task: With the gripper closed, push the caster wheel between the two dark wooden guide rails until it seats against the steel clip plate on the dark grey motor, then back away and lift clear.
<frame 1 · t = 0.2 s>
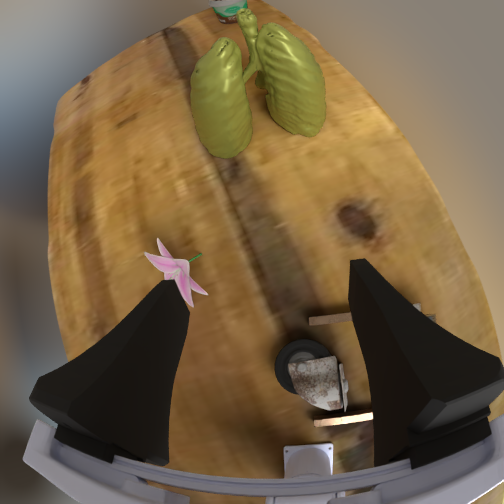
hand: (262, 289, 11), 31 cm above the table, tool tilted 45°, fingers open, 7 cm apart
motor mount: (351, 367, 37), on the table
lily: (189, 275, 45), on the table
food container: (238, 20, 60), on the table
caster wheel: (311, 372, 38), on the table
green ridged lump: (262, 119, 49), on the table
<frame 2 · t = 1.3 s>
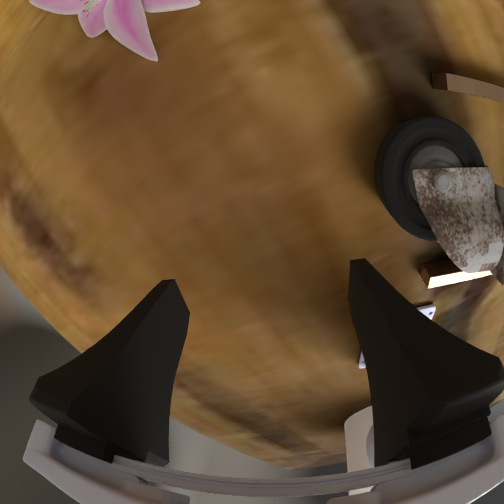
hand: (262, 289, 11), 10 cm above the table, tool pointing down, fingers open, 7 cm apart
motor mount: (484, 183, 16), on the table
lily: (137, 4, 11), on the table
caster wheel: (425, 185, 17), on the table
cylinder: (386, 414, 41), on the table
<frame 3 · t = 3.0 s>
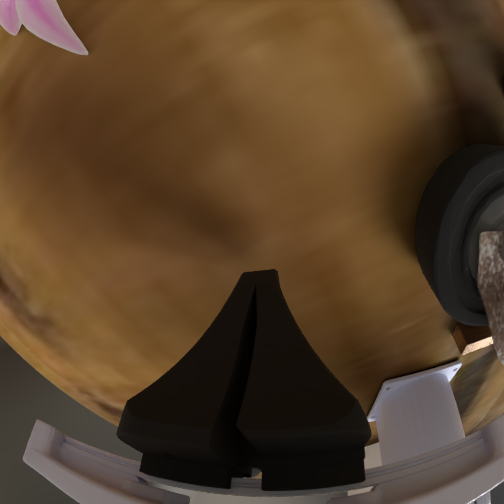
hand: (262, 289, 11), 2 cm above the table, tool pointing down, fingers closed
caster wheel: (473, 237, 11), on the table
cylinder: (391, 446, 35), on the table
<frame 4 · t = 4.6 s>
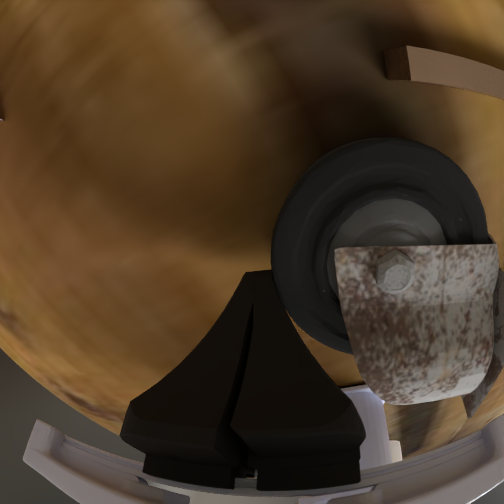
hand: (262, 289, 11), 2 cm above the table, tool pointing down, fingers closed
motor mount: (478, 236, 11), on the table
caster wheel: (380, 249, 12), on the table, touching gripper
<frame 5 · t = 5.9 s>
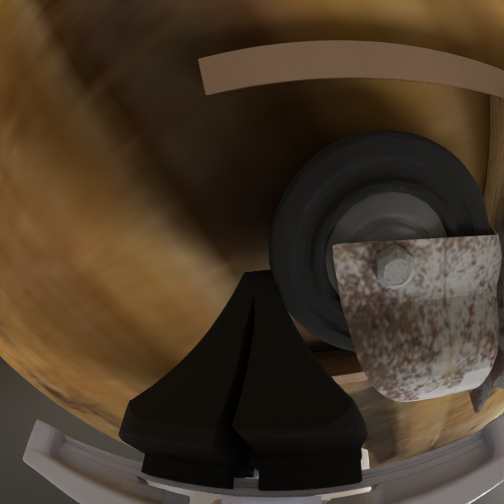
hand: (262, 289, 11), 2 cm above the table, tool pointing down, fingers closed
motor mount: (382, 248, 12), on the table
caster wheel: (381, 245, 12), on the table, touching gripper
cylinder: (320, 458, 37), on the table
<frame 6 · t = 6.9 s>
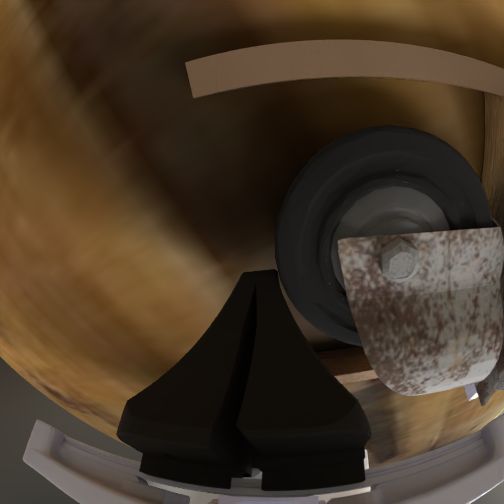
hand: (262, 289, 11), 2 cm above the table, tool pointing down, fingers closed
motor mount: (375, 248, 12), on the table
caster wheel: (385, 240, 12), on the table
cylinder: (319, 458, 37), on the table
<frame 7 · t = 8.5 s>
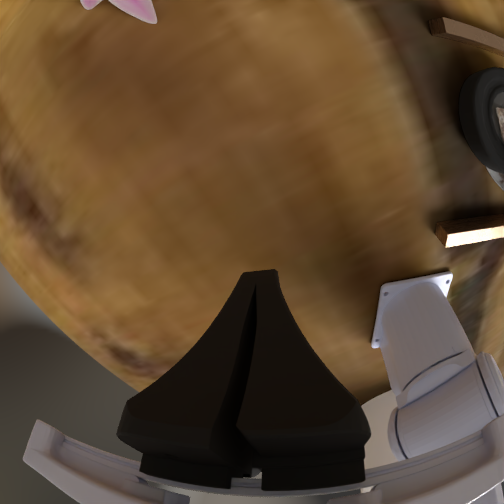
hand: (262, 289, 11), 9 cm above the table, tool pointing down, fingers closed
motor mount: (493, 136, 13), on the table
caster wheel: (492, 134, 14), on the table
cylinder: (398, 403, 38), on the table
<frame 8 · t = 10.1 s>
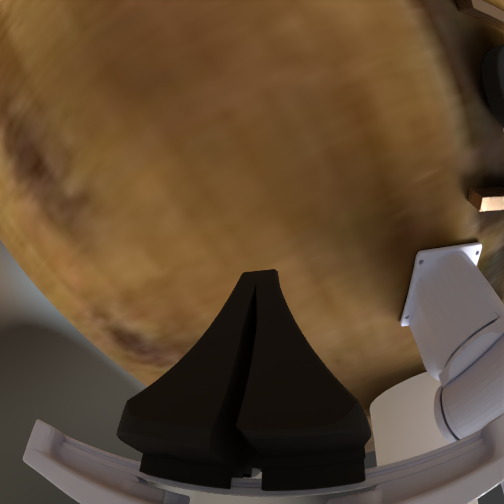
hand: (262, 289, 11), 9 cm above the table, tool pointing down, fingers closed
cylinder: (414, 393, 36), on the table
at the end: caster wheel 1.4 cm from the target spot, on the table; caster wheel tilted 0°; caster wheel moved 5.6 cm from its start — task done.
